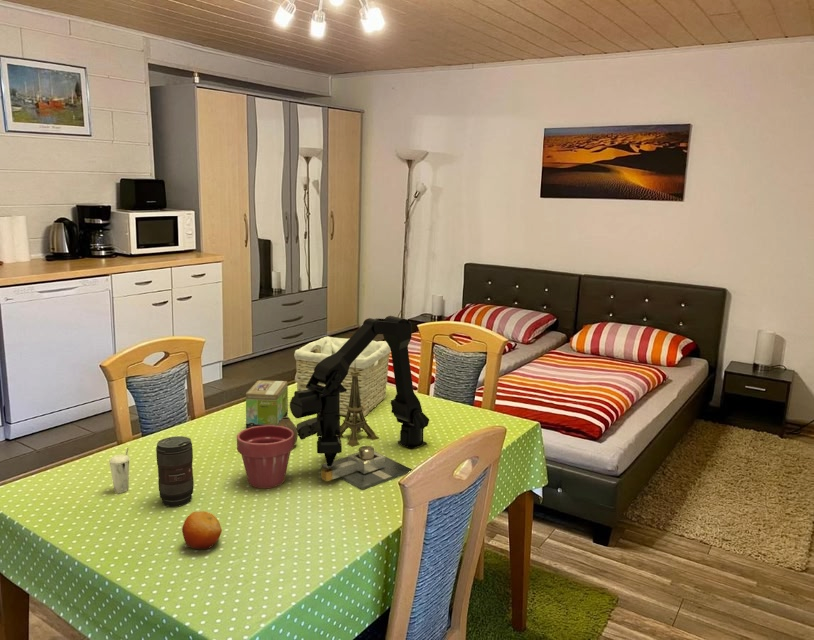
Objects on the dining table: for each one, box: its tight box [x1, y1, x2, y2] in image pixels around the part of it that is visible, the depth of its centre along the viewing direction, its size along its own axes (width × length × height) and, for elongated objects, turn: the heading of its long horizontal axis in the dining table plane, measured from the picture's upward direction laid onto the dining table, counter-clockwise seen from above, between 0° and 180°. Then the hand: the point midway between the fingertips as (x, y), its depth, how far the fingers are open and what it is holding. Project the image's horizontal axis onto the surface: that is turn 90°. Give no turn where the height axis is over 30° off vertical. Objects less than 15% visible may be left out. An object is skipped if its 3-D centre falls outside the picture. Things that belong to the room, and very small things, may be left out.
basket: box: [293, 336, 391, 418], centre depth 228 cm, size 27×27×22 cm
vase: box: [277, 416, 299, 446], centre depth 190 cm, size 7×7×9 cm
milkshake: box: [108, 447, 130, 494], centre depth 160 cm, size 4×5×10 cm
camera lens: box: [155, 435, 195, 508], centre depth 155 cm, size 8×8×15 cm
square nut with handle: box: [320, 451, 386, 482], centre depth 172 cm, size 17×7×3 cm, turn 132°
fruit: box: [181, 510, 223, 551], centre depth 136 cm, size 8×8×8 cm
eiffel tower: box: [336, 366, 380, 448], centre depth 196 cm, size 11×11×25 cm
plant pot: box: [236, 425, 295, 489], centre depth 167 cm, size 14×14×13 cm
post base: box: [320, 445, 413, 491], centre depth 175 cm, size 17×18×6 cm
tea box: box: [245, 380, 289, 429], centre depth 201 cm, size 15×10×15 cm
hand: (329, 465), depth 174 cm, fingers closed
